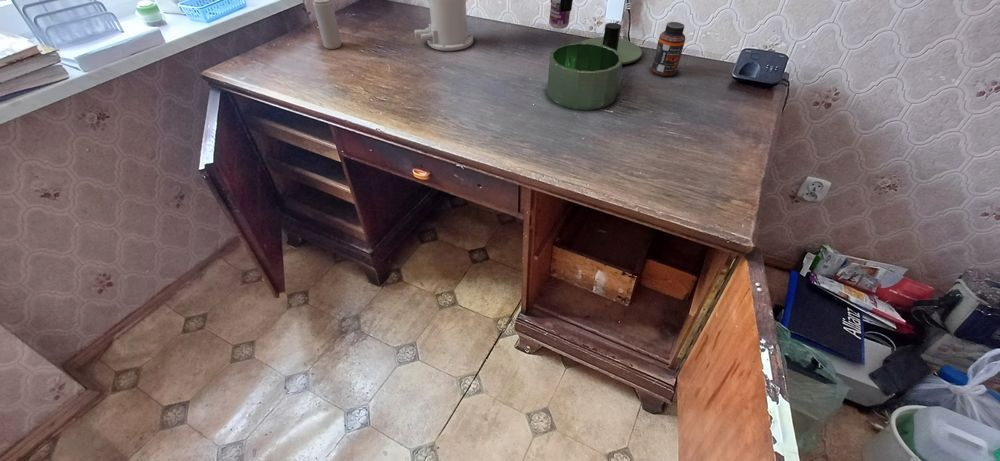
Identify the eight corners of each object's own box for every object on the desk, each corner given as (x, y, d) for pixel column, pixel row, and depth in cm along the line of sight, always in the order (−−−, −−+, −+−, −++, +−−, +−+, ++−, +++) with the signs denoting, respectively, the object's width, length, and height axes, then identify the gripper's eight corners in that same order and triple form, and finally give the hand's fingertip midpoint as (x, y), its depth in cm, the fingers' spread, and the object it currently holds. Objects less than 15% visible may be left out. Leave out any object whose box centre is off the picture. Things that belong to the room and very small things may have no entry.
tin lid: (594, 70, 115) (598, 41, 110) (567, 45, 127) (569, 18, 122) (653, 62, 119) (659, 33, 114) (621, 38, 130) (626, 11, 125)
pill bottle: (545, 26, 127) (549, -12, 120) (553, 20, 130) (557, -18, 124) (564, 30, 125) (568, -9, 118) (571, 24, 128) (576, -14, 122)
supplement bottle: (662, 79, 112) (674, 31, 104) (646, 69, 116) (656, 22, 108) (681, 74, 114) (694, 26, 106) (664, 64, 118) (676, 18, 110)
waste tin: (563, 114, 100) (567, 76, 94) (537, 82, 111) (539, 47, 105) (628, 103, 103) (635, 66, 97) (597, 74, 114) (602, 39, 108)
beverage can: (320, 48, 126) (307, 0, 117) (331, 41, 129) (319, -5, 121) (335, 51, 124) (323, 3, 116) (346, 44, 128) (335, -3, 119)
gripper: (542, -80, 117) (536, -2, 129) (569, -64, 105) (560, 19, 118) (569, -80, 119) (561, -4, 131) (599, -65, 107) (587, 17, 119)
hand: (560, 6), depth 124 cm, fingers closed on pill bottle, 5 cm apart
